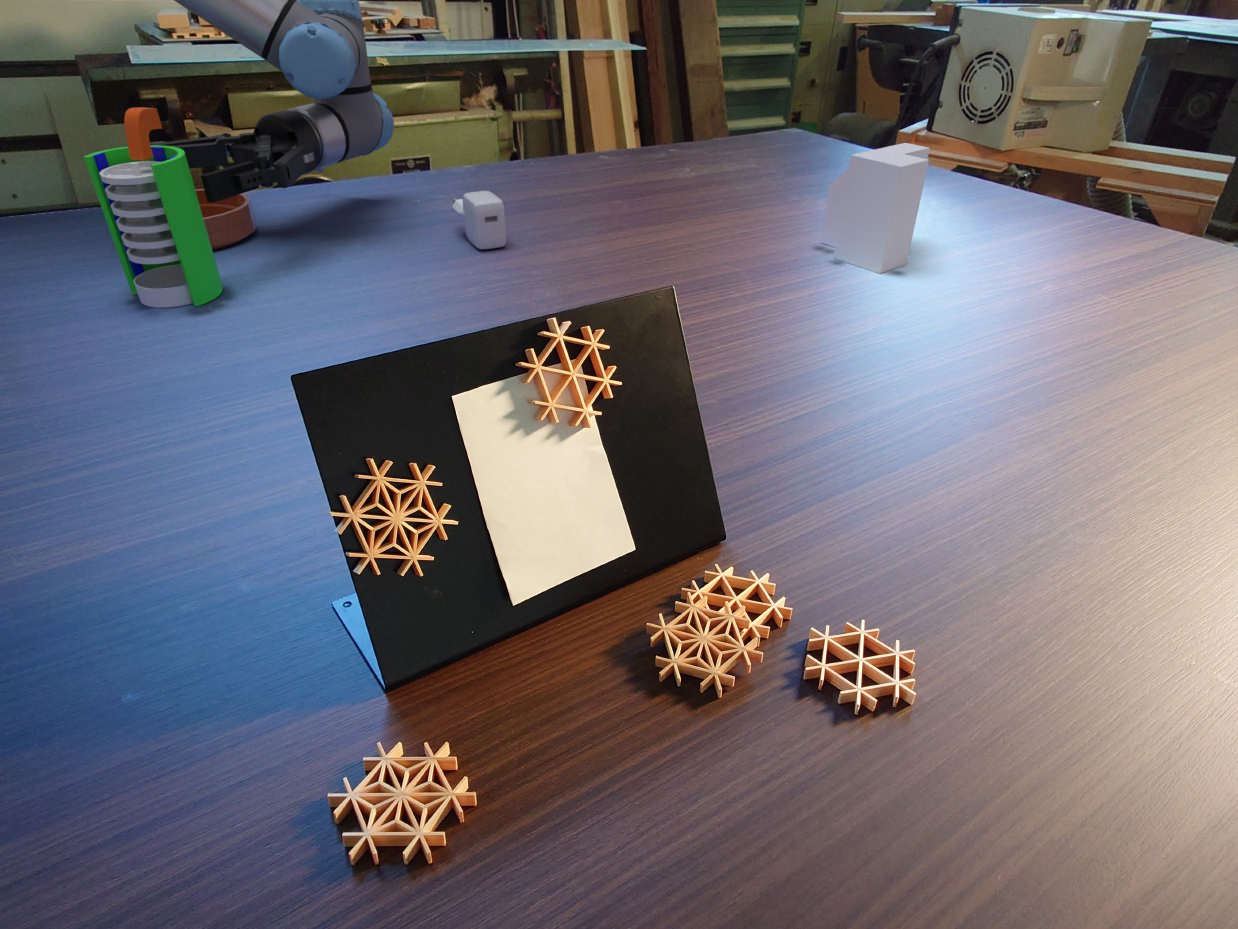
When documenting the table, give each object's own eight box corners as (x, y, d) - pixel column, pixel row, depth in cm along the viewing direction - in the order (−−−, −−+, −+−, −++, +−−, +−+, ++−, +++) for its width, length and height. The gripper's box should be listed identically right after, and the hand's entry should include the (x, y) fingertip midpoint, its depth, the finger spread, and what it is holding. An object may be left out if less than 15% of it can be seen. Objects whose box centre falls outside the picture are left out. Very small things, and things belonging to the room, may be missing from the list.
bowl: (106, 245, 98) (95, 212, 96) (199, 214, 109) (190, 183, 107) (194, 262, 94) (184, 228, 91) (281, 228, 105) (274, 197, 102)
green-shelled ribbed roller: (115, 305, 83) (49, 118, 73) (159, 277, 90) (104, 102, 80) (200, 309, 82) (145, 121, 72) (238, 281, 89) (193, 105, 79)
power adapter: (448, 227, 106) (443, 181, 103) (484, 222, 108) (480, 177, 105) (474, 253, 98) (470, 204, 94) (512, 247, 99) (509, 199, 96)
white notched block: (879, 273, 94) (901, 166, 87) (803, 247, 101) (818, 147, 94) (931, 254, 100) (955, 153, 93) (855, 231, 107) (873, 135, 100)
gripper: (385, 183, 99) (258, 232, 83) (230, 161, 107) (87, 202, 91) (375, 118, 95) (240, 156, 79) (215, 100, 103) (62, 132, 87)
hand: (157, 181), depth 85 cm, fingers open, 13 cm apart
